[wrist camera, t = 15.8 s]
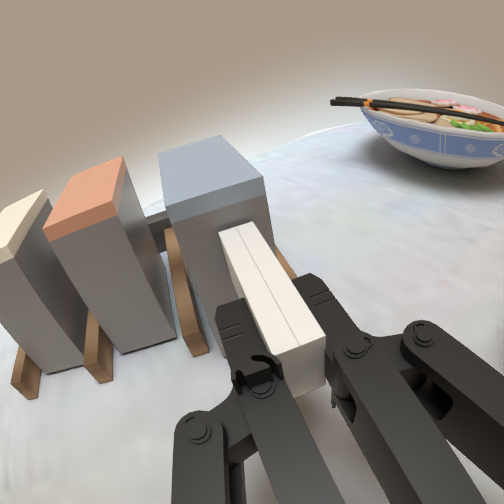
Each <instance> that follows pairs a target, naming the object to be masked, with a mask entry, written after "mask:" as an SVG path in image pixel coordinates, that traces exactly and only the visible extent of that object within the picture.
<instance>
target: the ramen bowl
mask: <svg viewBox="0 0 504 504" xmlns="http://www.w3.org/2000/svg"><path fill="white" fill-rule="evenodd" d="M330 104H331V106H356V107H357V106H358V107H360V108H361V110H362V112H363V114H364V115H365V116H366V118H367V119H368V121H369V122H370V124H371V125H372V126H373V128H374V129H375V130H376V131H377V132H378V133H379V134H380V135H381V136H382V137H383V138H384V139H385V140H386V141H388V142H389V143H390V144H391V145H392V146H394V147H395V148H397V149H398V150H399V151H401V152H404V153H406V154H409V155H411V156H413V157H416V158H418V159H420V160H421V161H423V162H425V163H427V164H429V165H431V166H434V167H438V168H442V169H450V170H459V169H465V168H472V167H486V166H489V165H492V164H494V163H497V162H499V161H501V160H503V159H504V107H503V106H500V105H498V104H495V103H492V102H489V101H486V100H483V99H479V98H476V97H471V96H467V95H462V94H457V93H452V92H447V91H437V90H428V89H388V90H380V91H373V92H370V93H367V94H364V95H361V96H359V98H352V97H336V100H334V99H332V100H330Z"/></svg>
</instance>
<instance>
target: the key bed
mask: <svg viewBox="0 0 504 504" xmlns="http://www.w3.org/2000/svg"><path fill="white" fill-rule="evenodd" d="M145 219H146V221H147V224H148V226H149V229H150V231H151V234H152V236H153V239H154V241H155V244H156V246H157V249H158V251H159V252H162V251H165V250H167V253H168V260H169V266H170V272H171V278H172V284H173V290H174V295H175V301H176V306H177V312H178V317H179V322H180V327H181V332H182V337H183V339H184V340H185V342H186V344H187V346H188V348H189V350H190V352H191V354H192V355H193V357H195V356H198V355H201V354H204V353H207V352H209V350H208V346H207V343H206V339H205V336H204V332H203V328H202V325H201V321H200V317H199V313H198V310H197V306H196V302H195V298H194V294H193V290H192V286H191V282H190V278H189V274H188V270H187V266H186V263H185V260H184V258H183V255H182V252H181V249H180V247H179V244H178V241H177V239H176V236H175V233H174V230H173V227H172V225H171V222H170V219H169V216H168V213H167V210H166V211H163V212H160V213H157V214H154V215H151V216H148V217H145ZM275 249H276V255H277V260H278V261H279V263H280V264H281V266H282V268H283V269H284V271H285V272H286V274H287V275H288V277H289V278H290V280H292V279H295V278H298V277H297V276H296V274H295V273H294V271H293V270H292V268H291V267H290V265H289V264H288V263H287V261H286V260H285V258H284V257H283V255H282V254H281V252H280V251H279V250H278V248H277V247H276V245H275ZM83 366H84V367H85V368H86V369H87V370H88V371H89V373H90V374H91V375H92V376H93V377H94V378H95V379H96V380H97V381H98V382H99V383H104V382H108V381H112V380H113V362H112V342H111V340H110V339H109V337H108V336H107V335H106V333H105V332H104V330H103V329H102V327H101V326H100V325H99V323H98V322H97V320H96V319H95V317H94V316H93V314H92V313H91V311H90V310H88V319H87V328H86V338H85V350H84V365H83ZM40 374H41V369H40V368H39V367H38V366H37V365H36V363H35V362H34V361H33V360H32V359H31V358H30V357H29V356H28V355H27V354H26V353H25V351H24V350H23V349H22V348H21V347H20V346H19V347H18V351H17V356H16V360H15V364H14V369H13V374H12V379H11V385H12V386H13V387H14V388H15V389H17V390H18V391H19V392H20V393H21V394H22V395H23V396H24V397H25V398H27V399H28V400H29V399H34V398H37V397H38V389H39V381H40Z"/></svg>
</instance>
